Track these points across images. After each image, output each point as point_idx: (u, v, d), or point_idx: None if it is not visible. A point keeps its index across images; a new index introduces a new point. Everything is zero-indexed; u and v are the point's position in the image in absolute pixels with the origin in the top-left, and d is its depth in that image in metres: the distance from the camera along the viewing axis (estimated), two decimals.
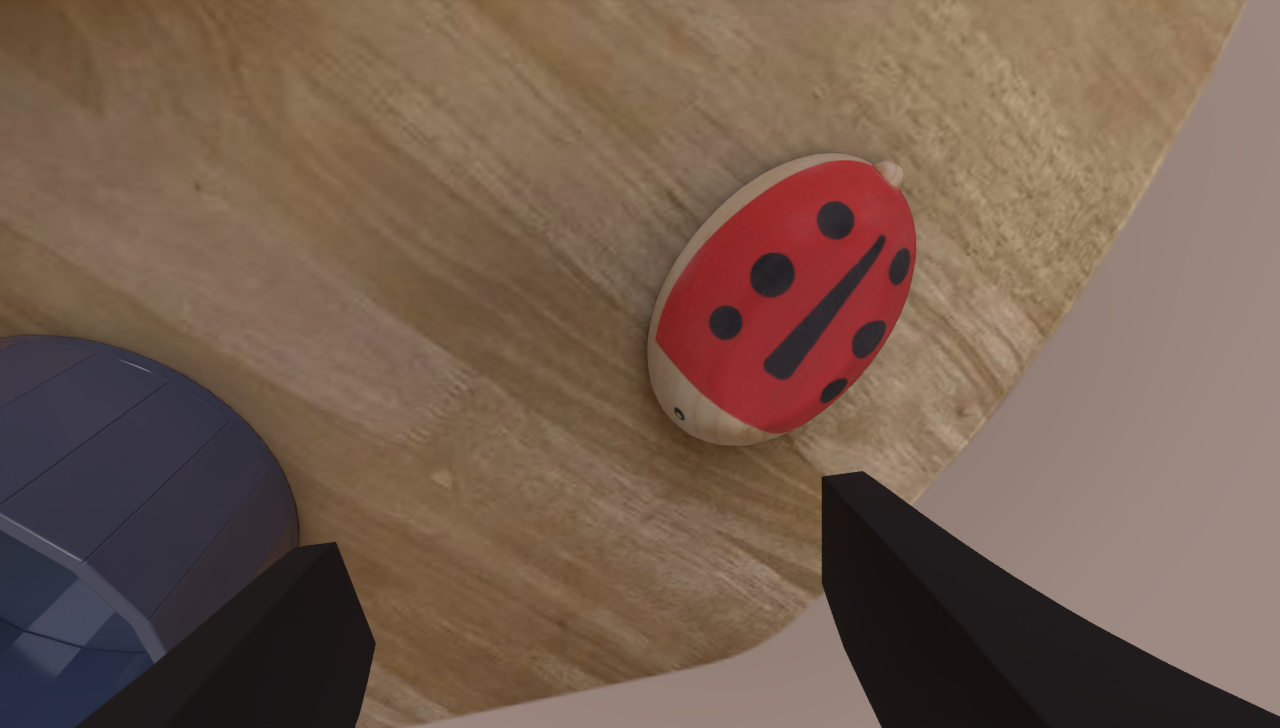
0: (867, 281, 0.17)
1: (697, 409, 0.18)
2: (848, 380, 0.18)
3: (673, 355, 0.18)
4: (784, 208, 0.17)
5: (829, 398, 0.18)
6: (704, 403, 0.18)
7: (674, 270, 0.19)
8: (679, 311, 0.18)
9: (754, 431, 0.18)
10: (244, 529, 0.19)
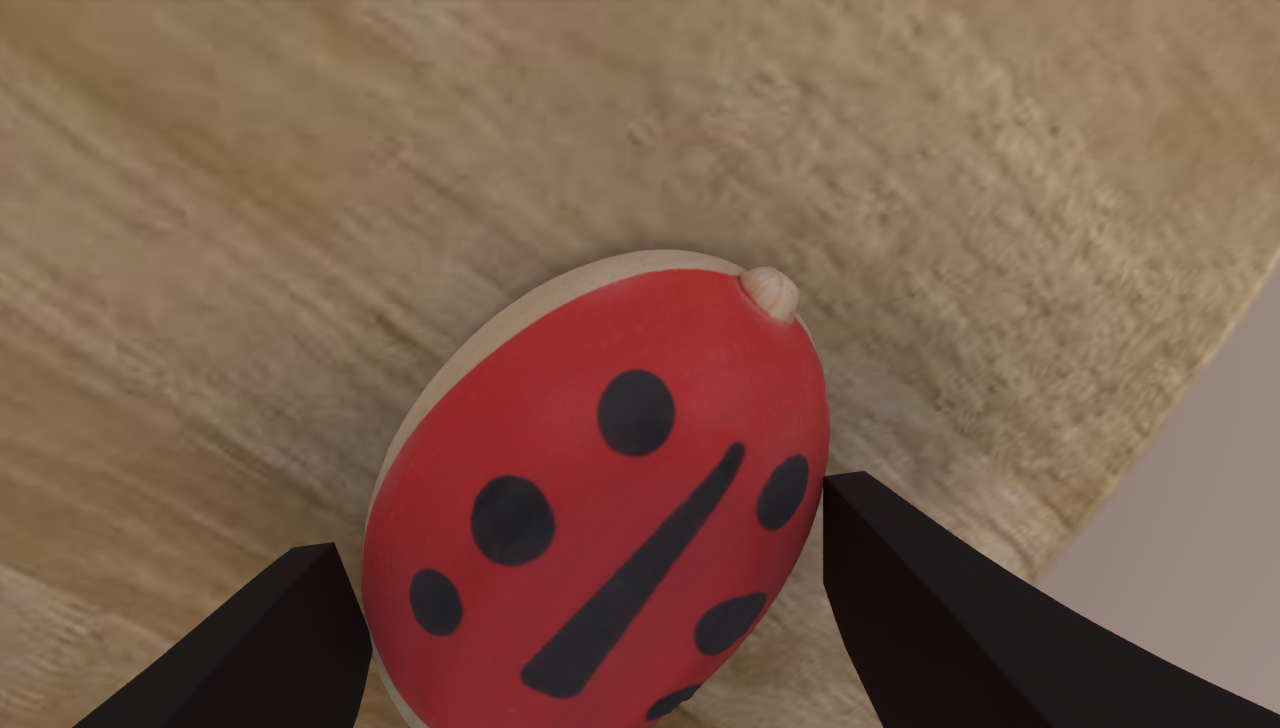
0: (711, 532, 0.08)
1: None
2: (702, 680, 0.10)
3: (373, 630, 0.10)
4: (541, 378, 0.08)
5: (668, 712, 0.10)
6: None
7: (384, 462, 0.10)
8: (377, 553, 0.09)
9: None
10: None
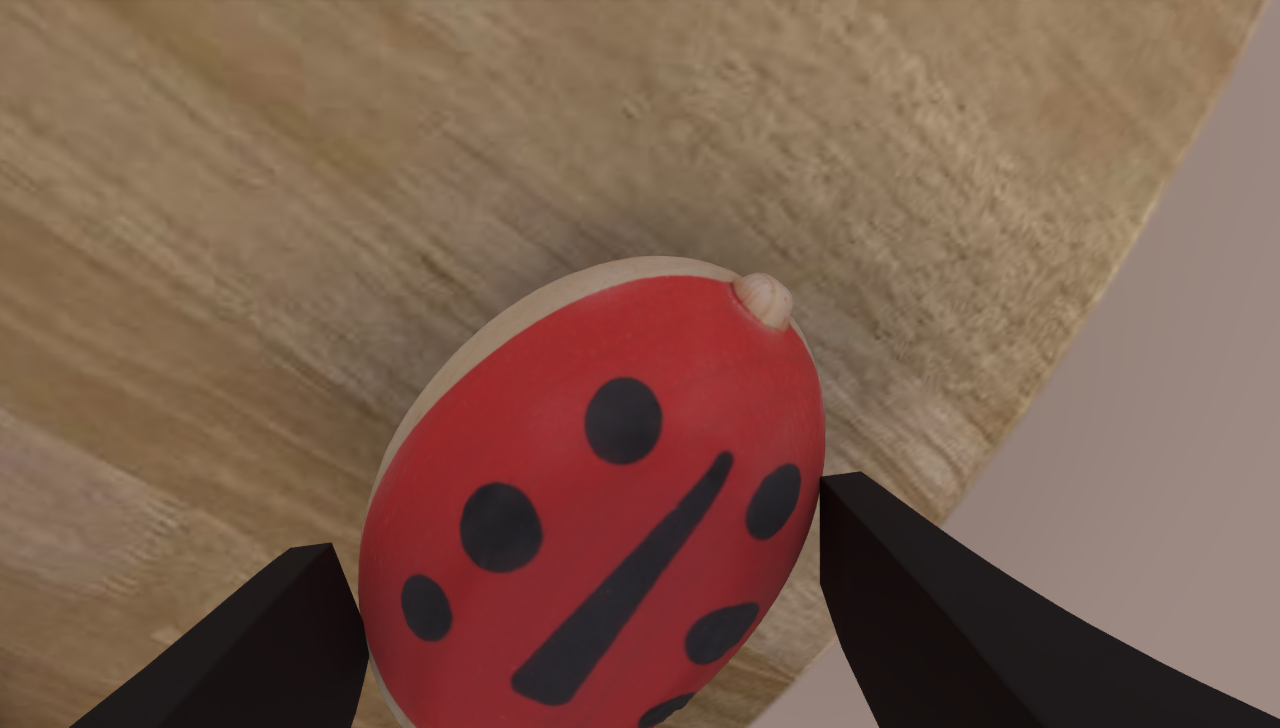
0: (700, 540, 0.08)
1: None
2: (695, 690, 0.09)
3: (368, 634, 0.10)
4: (531, 384, 0.08)
5: (661, 721, 0.10)
6: None
7: (380, 467, 0.10)
8: (370, 557, 0.10)
9: None
10: None
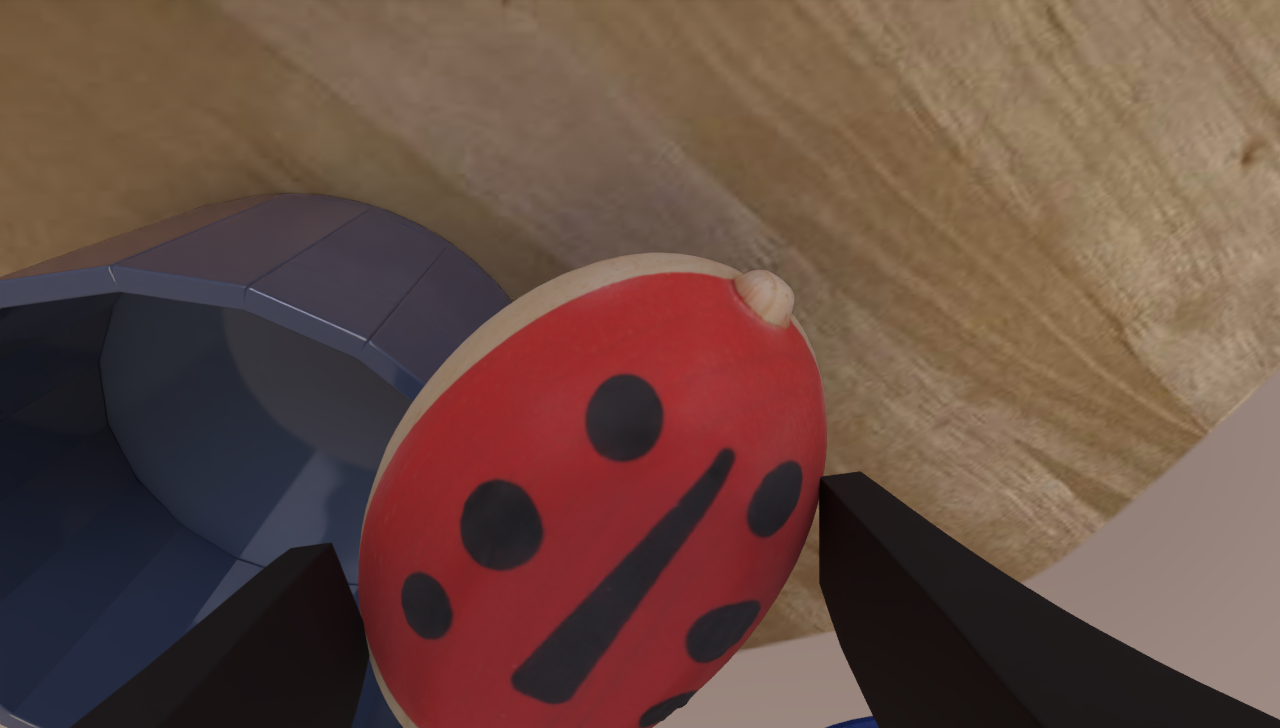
0: (701, 539, 0.08)
1: None
2: (696, 688, 0.09)
3: (368, 632, 0.10)
4: (531, 381, 0.08)
5: (661, 719, 0.10)
6: None
7: (380, 464, 0.10)
8: (371, 555, 0.09)
9: None
10: None
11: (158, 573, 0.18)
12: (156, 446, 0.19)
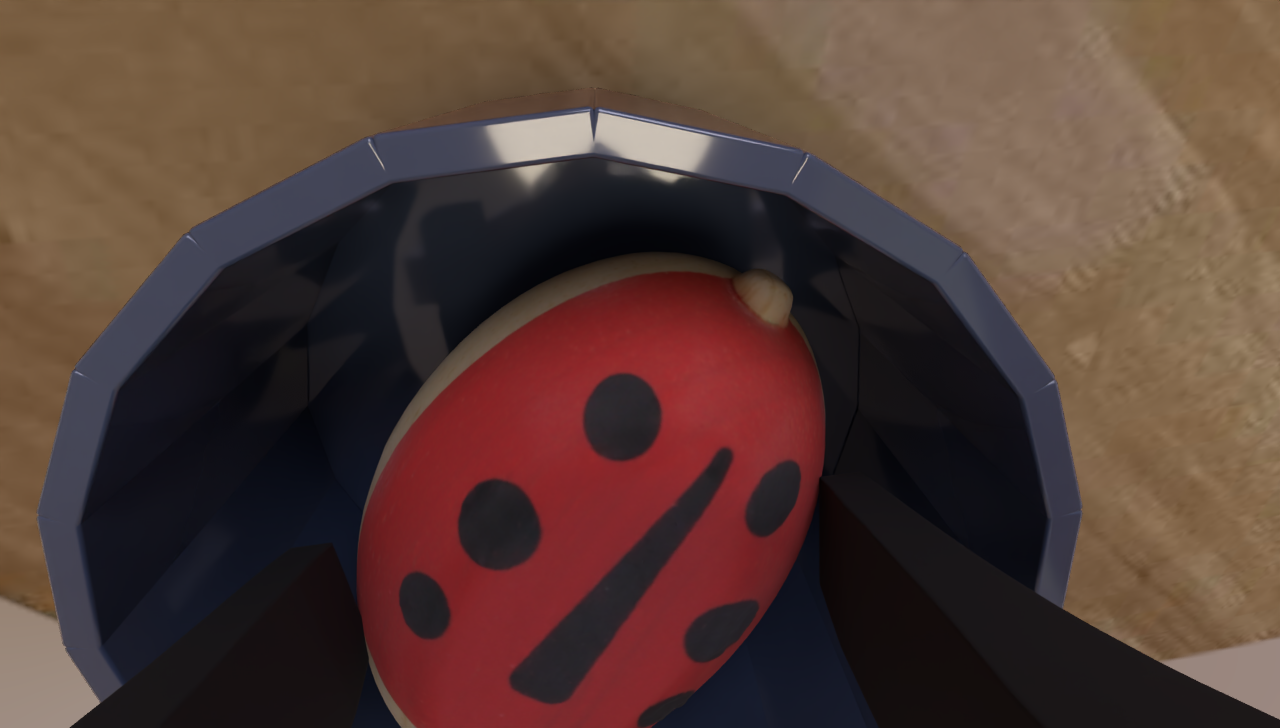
0: (699, 537, 0.08)
1: None
2: (695, 688, 0.09)
3: (366, 632, 0.10)
4: (529, 380, 0.08)
5: (660, 719, 0.10)
6: None
7: (378, 464, 0.10)
8: (369, 555, 0.09)
9: None
10: None
11: None
12: (366, 435, 0.14)
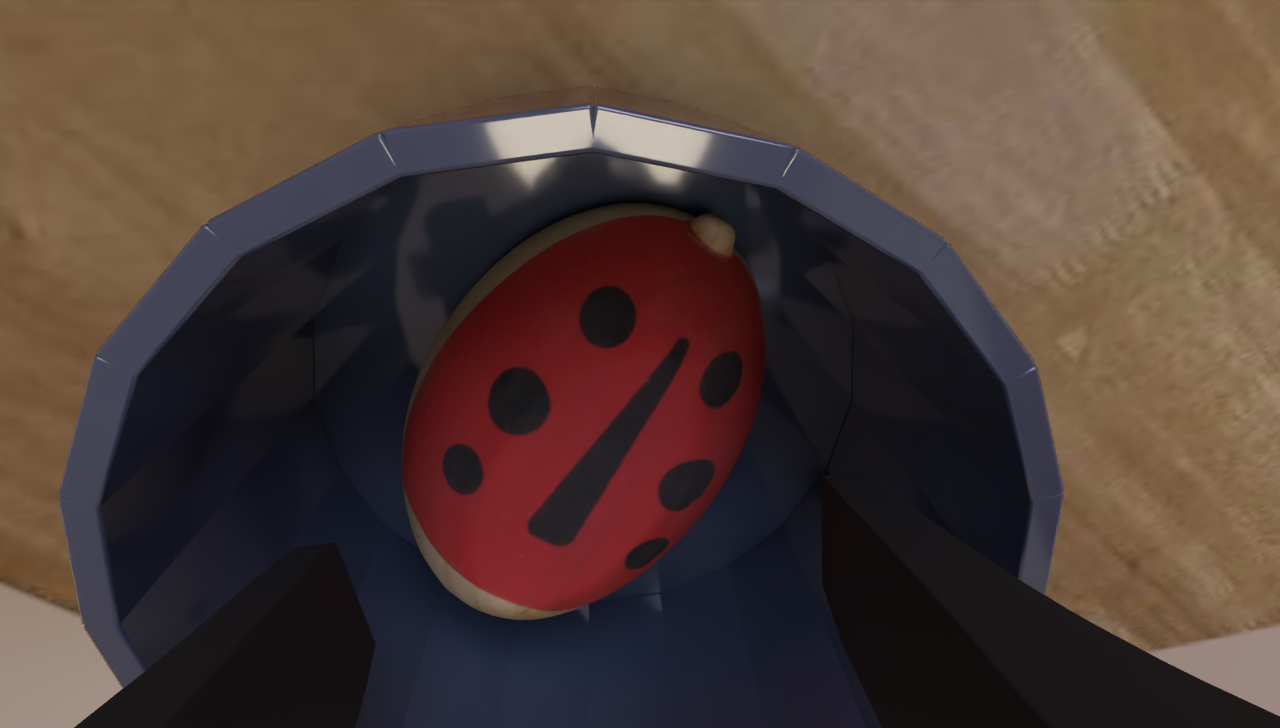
0: (666, 407, 0.11)
1: (450, 582, 0.13)
2: (668, 537, 0.12)
3: (413, 504, 0.13)
4: (538, 296, 0.11)
5: (643, 563, 0.12)
6: (455, 577, 0.12)
7: (418, 376, 0.13)
8: (415, 442, 0.12)
9: (535, 612, 0.13)
10: None
11: (377, 590, 0.14)
12: (370, 427, 0.15)
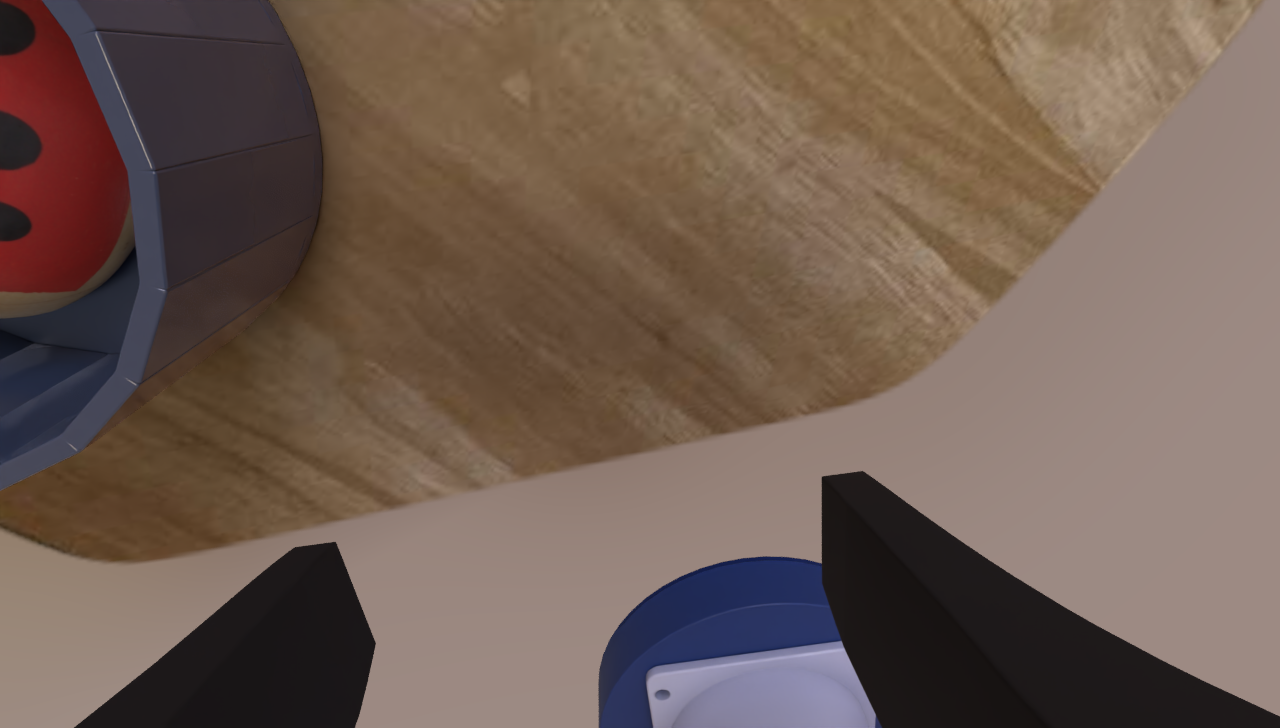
0: None
1: None
2: (18, 206, 0.13)
3: None
4: None
5: None
6: None
7: None
8: None
9: None
10: (251, 74, 0.14)
11: None
12: None
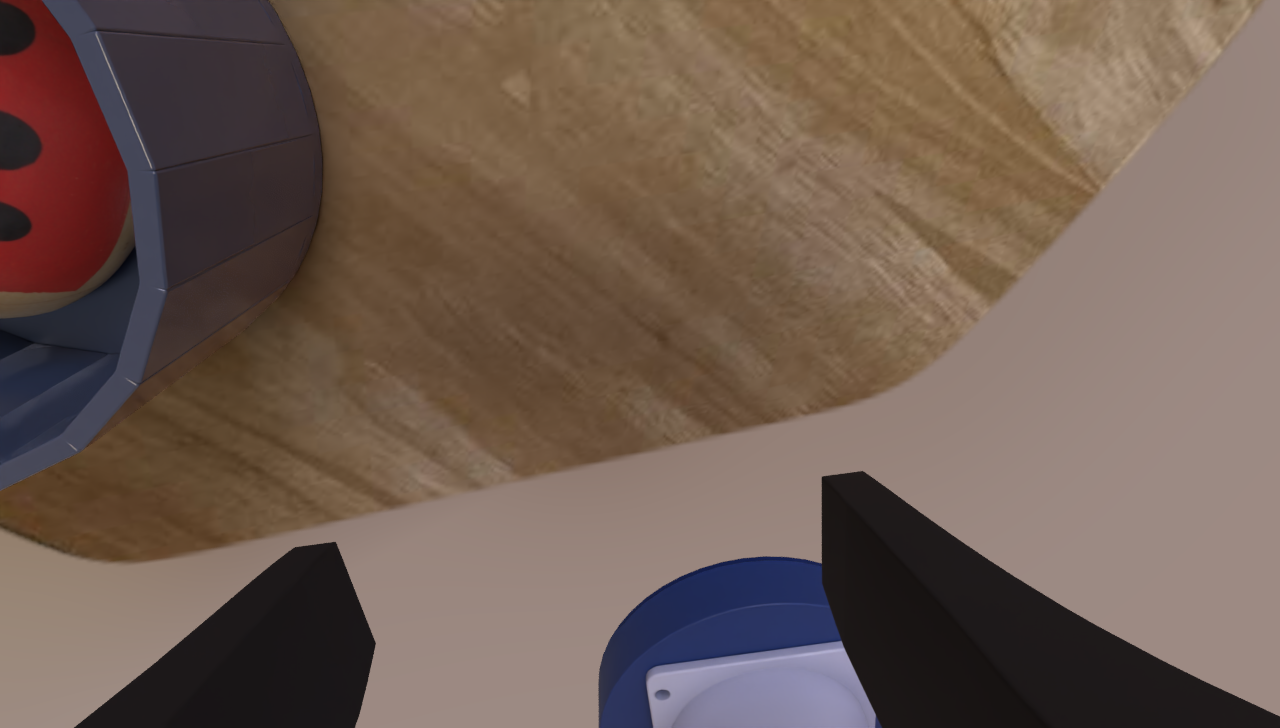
0: None
1: None
2: (18, 206, 0.13)
3: None
4: None
5: None
6: None
7: None
8: None
9: None
10: (251, 74, 0.14)
11: None
12: None
